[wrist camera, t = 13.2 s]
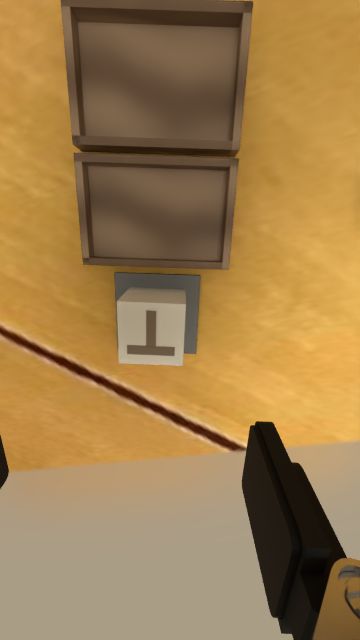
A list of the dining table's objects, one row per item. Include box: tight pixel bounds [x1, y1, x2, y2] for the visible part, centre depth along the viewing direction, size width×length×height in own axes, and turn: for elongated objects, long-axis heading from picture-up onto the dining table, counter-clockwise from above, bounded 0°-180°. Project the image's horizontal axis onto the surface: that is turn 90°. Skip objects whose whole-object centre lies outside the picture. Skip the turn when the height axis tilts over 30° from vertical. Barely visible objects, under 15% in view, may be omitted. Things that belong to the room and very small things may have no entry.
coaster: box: [114, 272, 200, 354], centre depth 27 cm, size 8×8×1 cm
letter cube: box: [117, 287, 186, 366], centre depth 24 cm, size 6×6×6 cm
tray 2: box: [74, 153, 239, 270], centre depth 23 cm, size 9×13×2 cm
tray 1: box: [61, 0, 253, 157], centre depth 20 cm, size 9×13×2 cm
